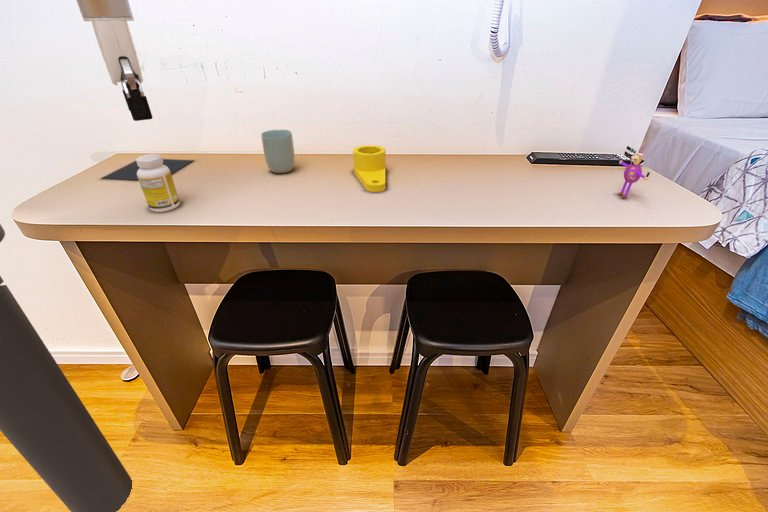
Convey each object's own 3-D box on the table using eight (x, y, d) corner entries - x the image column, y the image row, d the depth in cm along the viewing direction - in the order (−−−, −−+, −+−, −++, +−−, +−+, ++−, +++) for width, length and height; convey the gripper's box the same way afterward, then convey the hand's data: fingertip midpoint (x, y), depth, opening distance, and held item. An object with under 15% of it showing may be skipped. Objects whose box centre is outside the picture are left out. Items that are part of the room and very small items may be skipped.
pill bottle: (168, 198, 88) (152, 151, 82) (186, 204, 86) (172, 155, 80) (142, 209, 84) (124, 159, 78) (161, 215, 81) (144, 164, 75)
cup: (294, 164, 108) (290, 128, 103) (298, 174, 102) (293, 136, 97) (266, 167, 106) (260, 130, 101) (268, 177, 100) (261, 138, 95)
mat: (101, 178, 99) (101, 178, 99) (141, 159, 112) (141, 158, 112) (160, 181, 97) (159, 180, 97) (193, 161, 111) (193, 160, 111)
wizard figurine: (605, 187, 95) (622, 138, 88) (618, 187, 95) (636, 138, 88) (630, 207, 85) (650, 153, 79) (644, 207, 85) (666, 153, 79)
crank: (352, 167, 106) (351, 146, 103) (382, 166, 107) (382, 144, 104) (359, 193, 91) (358, 168, 88) (394, 191, 92) (394, 166, 89)
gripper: (80, 11, 71) (116, 109, 80) (79, 11, 58) (121, 126, 67) (127, 11, 74) (156, 105, 83) (135, 10, 62) (168, 121, 71)
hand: (140, 114), depth 75 cm, fingers open, 9 cm apart
